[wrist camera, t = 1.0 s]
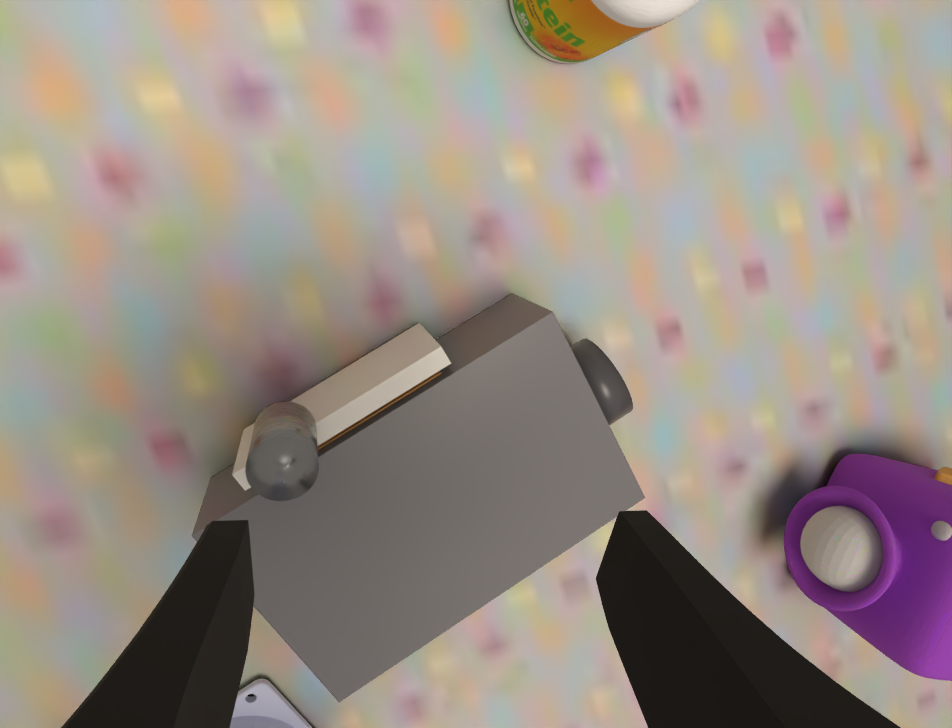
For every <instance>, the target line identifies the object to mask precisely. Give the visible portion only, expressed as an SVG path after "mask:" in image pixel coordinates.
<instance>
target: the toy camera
mask: <svg viewBox="0 0 952 728" xmlns="http://www.w3.org/2000/svg"><path fill="white" fill-rule="evenodd" d="M784 549H785V556H786V561H787V564H788V567H789V570H790V572H791V575H792V577H793V579H794V580H795V582H796V584H797V585H798V587H799V588H800V589H801V591H802V592H803V593H804V594H805V595H806V596H807V597H808V598H809V599H811V600H812V601H813V602H815V603H817V604H818V605H820V606H822V607H824V608H826V609H827V610H828V611H829V612H831V613H832V614H833V615H834V616H836V617H837V618H838V619H839V620H841V621H842V622H843V623H844V624H846V625H847V626H848V627H850V628H851V629H852V630H853V631H855V632H856V633H857V634H859V635H860V636H861V637H862V638H864V639H865V640H866V641H868V642H869V643H870V644H871V645H873V646H874V647H875V648H877V649H878V650H879V651H881V652H882V653H883V654H885V655H886V656H887V657H889V658H890V659H891V660H893V661H894V662H896V663H897V664H899V665H900V666H901V667H903V668H905V669H906V670H908V671H910V672H912V673H914V674H916V675H919V676H922V677H926V678H931V679H938V680H949V681H952V469H951V468H948V467H943V468H941V469H940V470H938V471H937V470H933V469H930V468H926V467H921V466H917V465H913V464H909V463H905V462H901V461H897V460H893V459H888V458H884V457H879V456H875V455H869V454H850V455H847V456H845V457H844V458H842V459H841V461H840V462H839V463H838V465H837V466H836V468H835V470H834V471H833V473H832V475H831V477H830V479H829V482H828V484H827V486H826V487H822V488H819V489H816V490H814V491H812V492H810V493H808V494H807V495H805V496H804V497H803V498H802V499H800V500H799V501H798V503H797V504H796V505H795V506H794V508H793V509H792V511H791V513H790V515H789V517H788V520H787V522H786V526H785V532H784Z"/></svg>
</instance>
